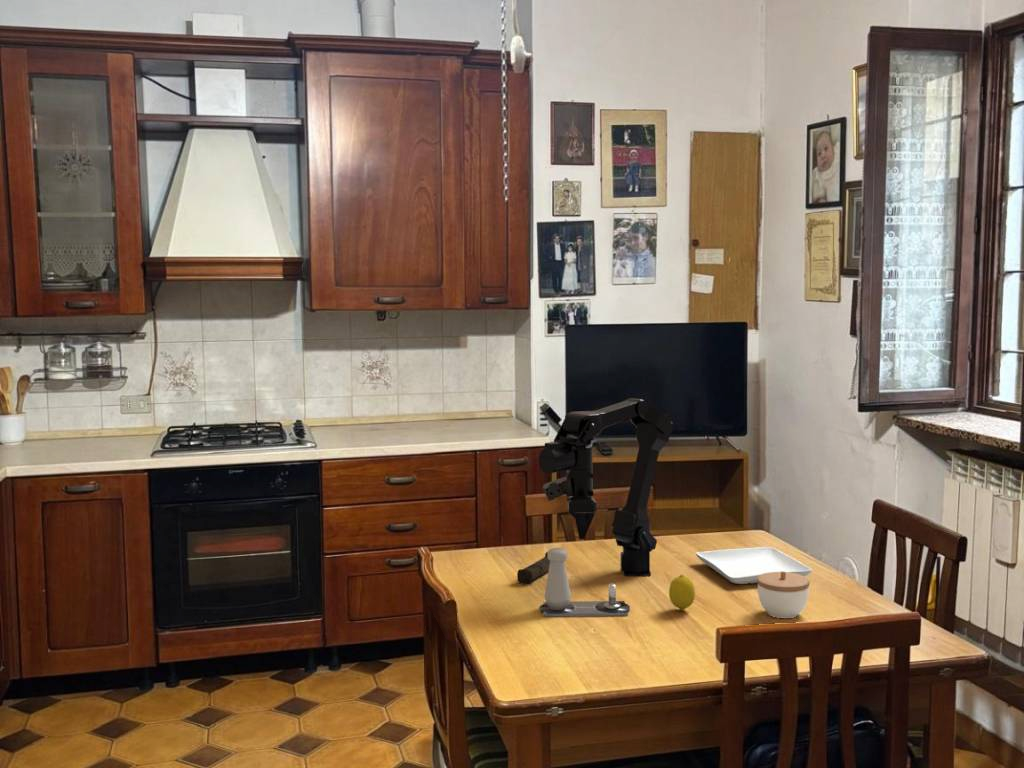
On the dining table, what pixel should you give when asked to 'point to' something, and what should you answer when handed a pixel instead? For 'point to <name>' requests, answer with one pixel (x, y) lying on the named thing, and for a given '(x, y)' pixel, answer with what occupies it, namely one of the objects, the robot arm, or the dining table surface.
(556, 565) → the salt shaker
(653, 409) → the robot arm
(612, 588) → the fixed steel pin
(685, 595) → the lemon
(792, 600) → the lidded jar
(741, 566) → the salad plate
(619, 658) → the dining table surface
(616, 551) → the dining table surface
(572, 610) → the plate
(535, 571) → the hand tool
